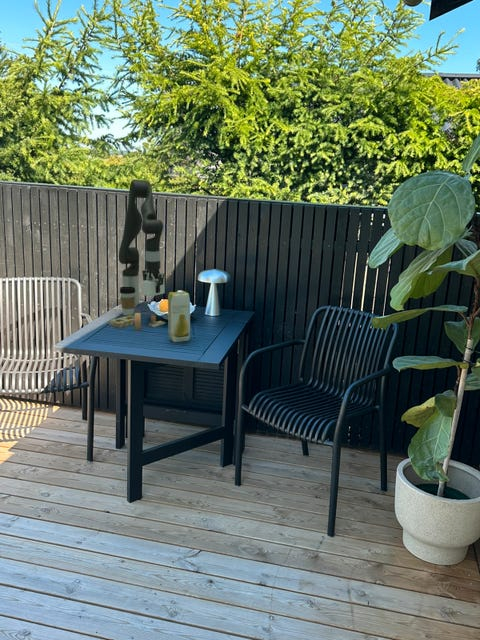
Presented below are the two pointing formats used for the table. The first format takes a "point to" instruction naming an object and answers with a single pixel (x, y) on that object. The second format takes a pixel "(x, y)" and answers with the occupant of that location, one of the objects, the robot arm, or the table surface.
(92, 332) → the table surface
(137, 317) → the terracotta peg
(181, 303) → the juice carton
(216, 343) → the table surface
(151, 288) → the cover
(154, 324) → the pattern board
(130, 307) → the coffee cup
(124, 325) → the socket board
